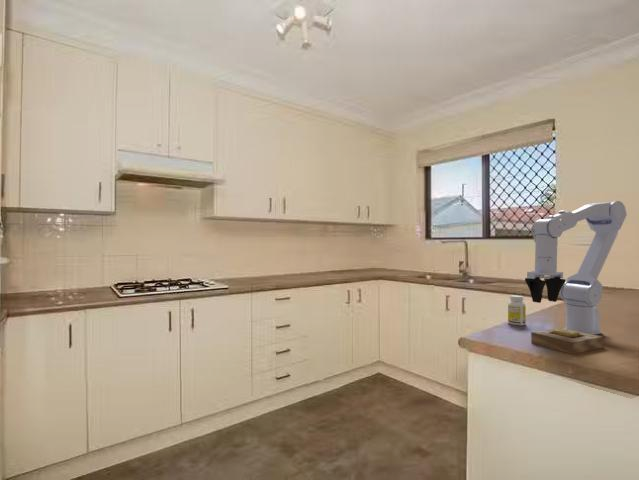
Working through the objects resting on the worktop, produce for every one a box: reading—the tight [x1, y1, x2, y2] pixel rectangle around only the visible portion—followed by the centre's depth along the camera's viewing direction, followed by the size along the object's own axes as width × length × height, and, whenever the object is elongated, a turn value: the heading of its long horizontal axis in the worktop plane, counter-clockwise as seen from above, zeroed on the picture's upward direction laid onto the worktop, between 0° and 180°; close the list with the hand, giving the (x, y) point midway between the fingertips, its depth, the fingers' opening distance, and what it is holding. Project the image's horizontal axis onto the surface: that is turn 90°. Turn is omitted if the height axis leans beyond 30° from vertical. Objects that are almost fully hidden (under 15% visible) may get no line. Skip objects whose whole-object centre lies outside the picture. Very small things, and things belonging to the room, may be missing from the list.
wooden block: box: [553, 329, 580, 338], centre depth 100 cm, size 4×4×4 cm
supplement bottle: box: [507, 294, 527, 326], centre depth 125 cm, size 5×5×10 cm
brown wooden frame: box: [530, 327, 604, 355], centre depth 100 cm, size 14×11×3 cm
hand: (544, 301), depth 110 cm, fingers open, 7 cm apart
